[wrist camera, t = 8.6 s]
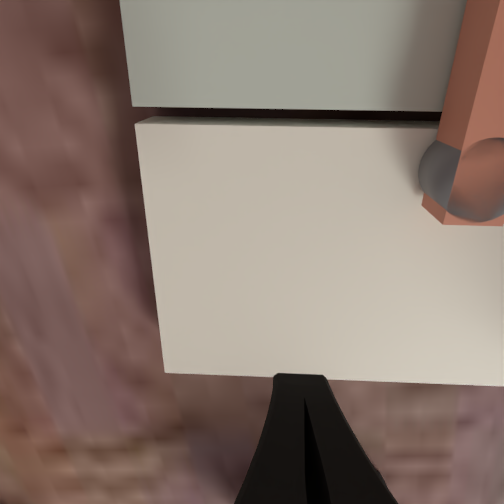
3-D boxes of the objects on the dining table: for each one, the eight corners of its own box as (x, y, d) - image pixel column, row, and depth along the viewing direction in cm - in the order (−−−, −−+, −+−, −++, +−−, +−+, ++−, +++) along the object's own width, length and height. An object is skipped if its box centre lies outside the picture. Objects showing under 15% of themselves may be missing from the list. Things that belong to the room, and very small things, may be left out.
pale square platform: (751, -320, 10) (1081, -584, 6) (493, 352, 21) (549, 424, 17) (111, -307, 11) (12, -540, 7) (175, 341, 22) (152, 407, 17)
